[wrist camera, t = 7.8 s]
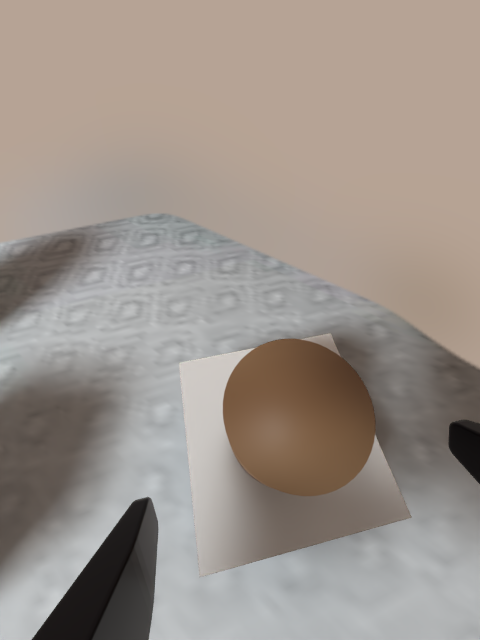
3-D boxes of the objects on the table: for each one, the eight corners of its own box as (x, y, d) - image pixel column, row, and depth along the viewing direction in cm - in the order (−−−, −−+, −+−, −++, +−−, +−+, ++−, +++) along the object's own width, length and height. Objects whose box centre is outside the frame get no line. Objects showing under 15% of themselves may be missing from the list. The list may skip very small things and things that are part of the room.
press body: (352, 503, 15) (411, 517, 10) (214, 540, 14) (199, 577, 9) (306, 372, 19) (330, 333, 14) (196, 395, 18) (178, 362, 13)
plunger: (317, 474, 14) (405, 473, 7) (240, 494, 14) (239, 516, 6) (293, 396, 17) (338, 328, 9) (225, 411, 16) (212, 352, 9)
